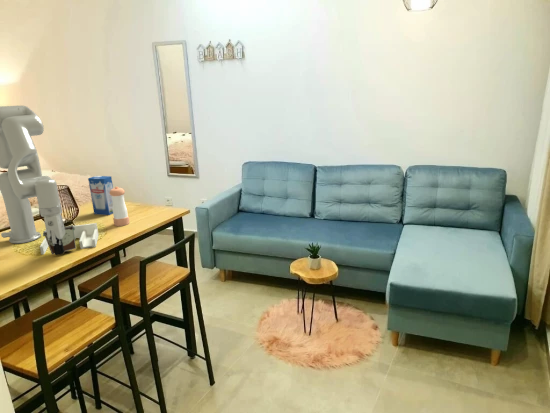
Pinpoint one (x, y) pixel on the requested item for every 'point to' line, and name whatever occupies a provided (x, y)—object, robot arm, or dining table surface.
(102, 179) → the milk carton
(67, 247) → the food container
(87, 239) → the rack
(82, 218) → the dining table surface
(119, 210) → the pepper shaker
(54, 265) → the dining table surface
